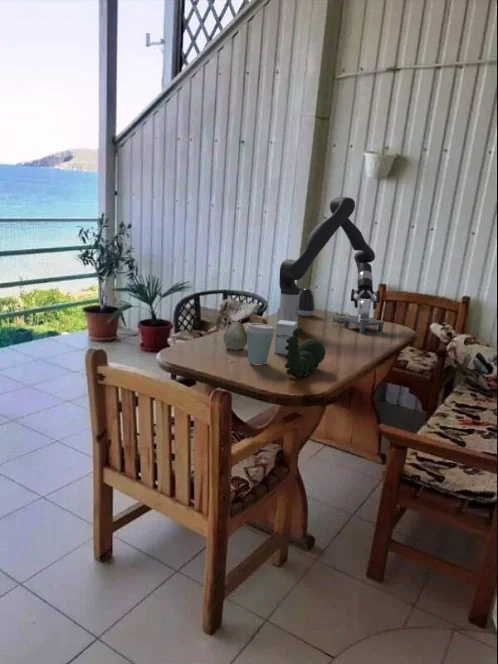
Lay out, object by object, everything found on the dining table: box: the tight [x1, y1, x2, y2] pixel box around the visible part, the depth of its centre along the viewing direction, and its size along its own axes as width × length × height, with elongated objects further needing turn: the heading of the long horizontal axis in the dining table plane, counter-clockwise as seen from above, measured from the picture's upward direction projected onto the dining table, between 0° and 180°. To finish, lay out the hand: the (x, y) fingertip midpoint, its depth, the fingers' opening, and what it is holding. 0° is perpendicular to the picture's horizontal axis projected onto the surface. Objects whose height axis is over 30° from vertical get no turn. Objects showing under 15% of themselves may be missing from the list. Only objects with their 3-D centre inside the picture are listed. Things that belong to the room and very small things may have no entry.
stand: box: [343, 316, 385, 335], centre depth 253 cm, size 14×14×5 cm
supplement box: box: [273, 320, 298, 355], centre depth 204 cm, size 7×7×13 cm
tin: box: [248, 314, 269, 325], centre depth 232 cm, size 15×3×8 cm, turn 25°
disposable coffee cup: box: [245, 322, 275, 364], centre depth 187 cm, size 11×11×15 cm
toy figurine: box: [284, 326, 326, 378], centre depth 179 cm, size 10×19×26 cm
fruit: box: [223, 319, 248, 351], centre depth 205 cm, size 10×9×12 cm
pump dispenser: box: [298, 287, 316, 317], centre depth 278 cm, size 10×10×15 cm
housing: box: [357, 299, 372, 321], centre depth 251 cm, size 6×6×10 cm
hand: (365, 308), depth 249 cm, fingers open, 8 cm apart
